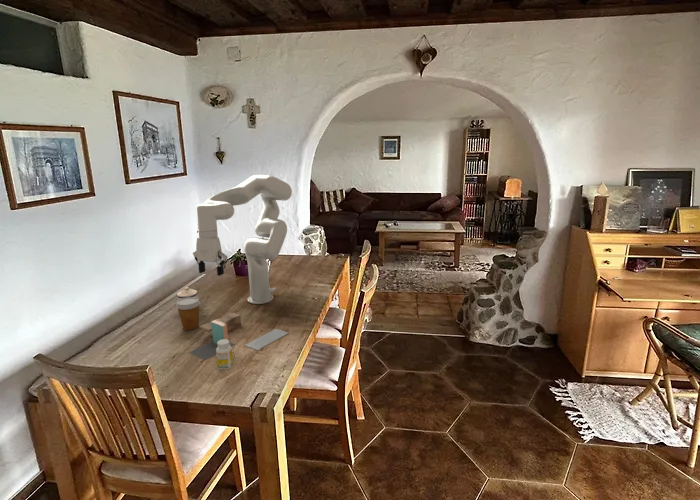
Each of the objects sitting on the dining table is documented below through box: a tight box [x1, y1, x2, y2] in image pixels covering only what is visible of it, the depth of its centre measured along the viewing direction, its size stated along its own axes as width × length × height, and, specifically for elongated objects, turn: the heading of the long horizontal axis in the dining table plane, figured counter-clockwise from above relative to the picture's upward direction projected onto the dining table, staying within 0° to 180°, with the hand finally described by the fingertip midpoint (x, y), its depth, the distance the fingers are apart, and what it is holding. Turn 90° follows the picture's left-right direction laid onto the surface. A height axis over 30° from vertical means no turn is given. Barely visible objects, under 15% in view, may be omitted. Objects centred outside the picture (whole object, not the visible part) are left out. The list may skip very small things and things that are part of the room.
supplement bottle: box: [215, 339, 234, 370], centre depth 144 cm, size 5×5×10 cm
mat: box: [188, 340, 236, 361], centre depth 157 cm, size 14×10×1 cm
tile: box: [210, 319, 229, 344], centre depth 159 cm, size 2×7×9 cm, turn 55°
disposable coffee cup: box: [175, 297, 201, 331], centre depth 175 cm, size 10×10×12 cm
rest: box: [244, 328, 289, 351], centre depth 164 cm, size 17×7×1 cm, turn 145°
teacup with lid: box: [176, 286, 199, 301], centre depth 192 cm, size 12×9×12 cm
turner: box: [199, 312, 242, 333], centre depth 171 cm, size 16×6×5 cm, turn 144°
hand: (211, 273), depth 174 cm, fingers open, 9 cm apart
